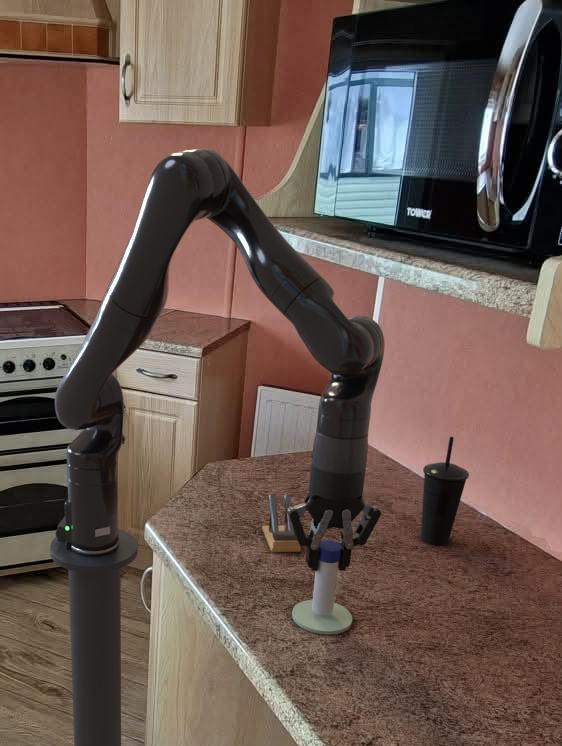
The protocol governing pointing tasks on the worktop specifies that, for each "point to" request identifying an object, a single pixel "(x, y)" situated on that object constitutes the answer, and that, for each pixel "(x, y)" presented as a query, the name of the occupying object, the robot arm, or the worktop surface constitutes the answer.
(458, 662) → the worktop surface
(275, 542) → the rack
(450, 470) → the drinking cup
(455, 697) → the worktop surface
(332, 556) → the vial
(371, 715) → the worktop surface
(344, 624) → the mat
